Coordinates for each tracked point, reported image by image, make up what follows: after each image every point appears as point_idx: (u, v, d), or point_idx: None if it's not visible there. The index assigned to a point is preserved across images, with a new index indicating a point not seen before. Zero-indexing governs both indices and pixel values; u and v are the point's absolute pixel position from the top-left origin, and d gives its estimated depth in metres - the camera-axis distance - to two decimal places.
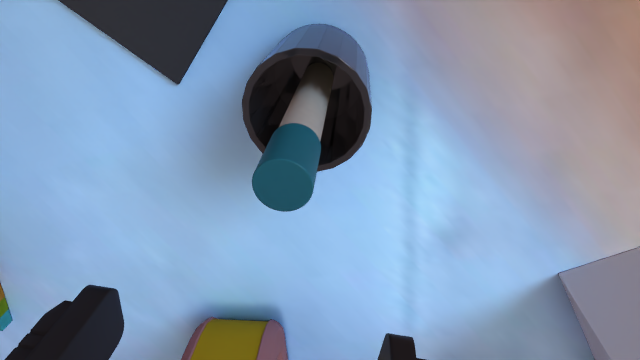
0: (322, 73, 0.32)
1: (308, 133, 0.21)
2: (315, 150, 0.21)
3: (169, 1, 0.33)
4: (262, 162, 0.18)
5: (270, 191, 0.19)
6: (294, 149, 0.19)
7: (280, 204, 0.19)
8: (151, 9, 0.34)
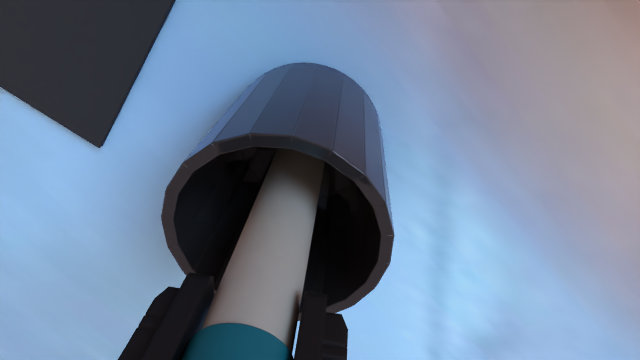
0: None
1: None
2: None
3: (71, 29, 0.21)
4: None
5: None
6: None
7: None
8: (45, 42, 0.22)
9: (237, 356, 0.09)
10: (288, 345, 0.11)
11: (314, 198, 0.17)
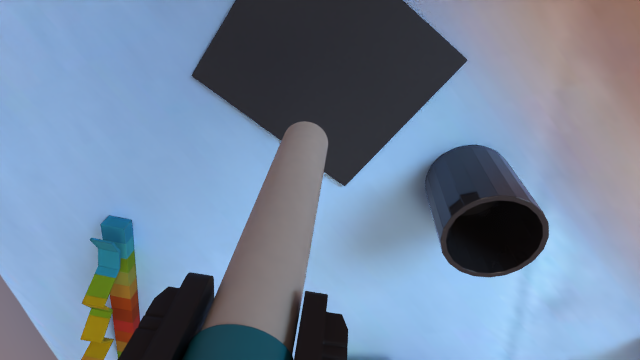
0: (309, 145, 0.20)
1: None
2: None
3: (352, 127, 0.40)
4: None
5: None
6: None
7: None
8: (335, 132, 0.41)
9: (237, 357, 0.09)
10: (288, 346, 0.11)
11: (314, 199, 0.17)
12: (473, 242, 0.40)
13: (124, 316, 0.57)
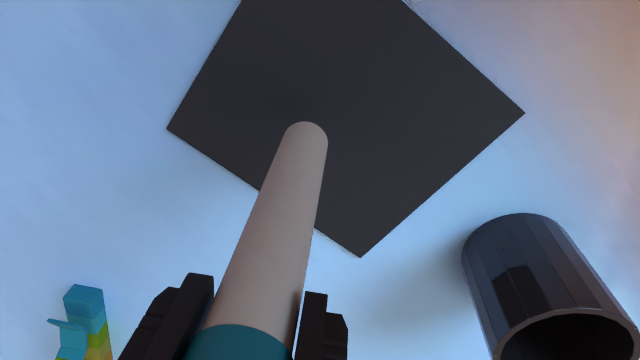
0: (309, 145, 0.20)
1: None
2: None
3: (372, 191, 0.32)
4: None
5: None
6: None
7: None
8: (350, 197, 0.32)
9: (237, 357, 0.09)
10: (288, 346, 0.11)
11: (314, 199, 0.17)
12: (526, 338, 0.32)
13: None
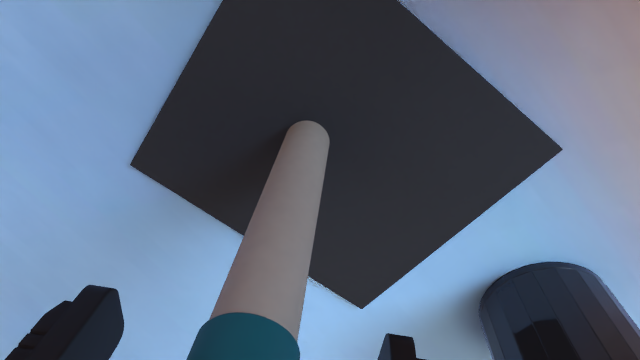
0: (311, 144, 0.20)
1: (270, 346, 0.10)
2: None
3: (375, 237, 0.27)
4: None
5: None
6: None
7: None
8: (349, 243, 0.27)
9: (246, 343, 0.10)
10: (293, 334, 0.11)
11: (317, 195, 0.17)
12: None
13: None
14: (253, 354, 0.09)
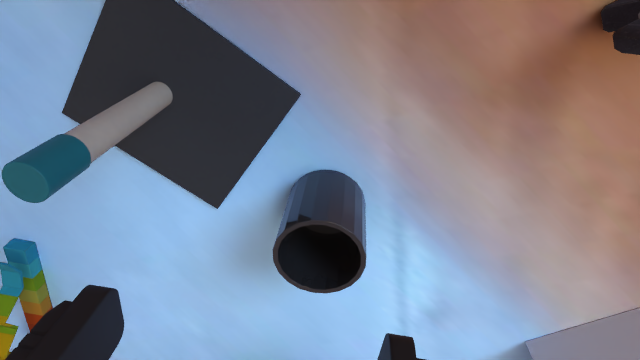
0: (149, 91, 0.38)
1: (69, 142, 0.27)
2: (70, 155, 0.27)
3: (212, 155, 0.44)
4: (6, 165, 0.24)
5: (18, 187, 0.25)
6: (37, 154, 0.25)
7: (29, 197, 0.25)
8: (199, 160, 0.45)
9: (59, 139, 0.27)
10: (88, 146, 0.28)
11: (137, 112, 0.35)
12: (324, 260, 0.43)
13: None
14: (60, 141, 0.27)
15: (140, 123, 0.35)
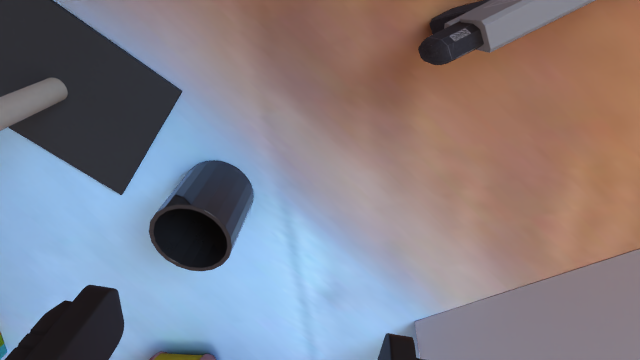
0: (38, 86, 0.42)
1: None
2: None
3: (110, 146, 0.48)
4: None
5: None
6: None
7: None
8: (98, 150, 0.49)
9: None
10: None
11: (19, 105, 0.39)
12: (210, 242, 0.48)
13: None
14: None
15: (23, 115, 0.39)
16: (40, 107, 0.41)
